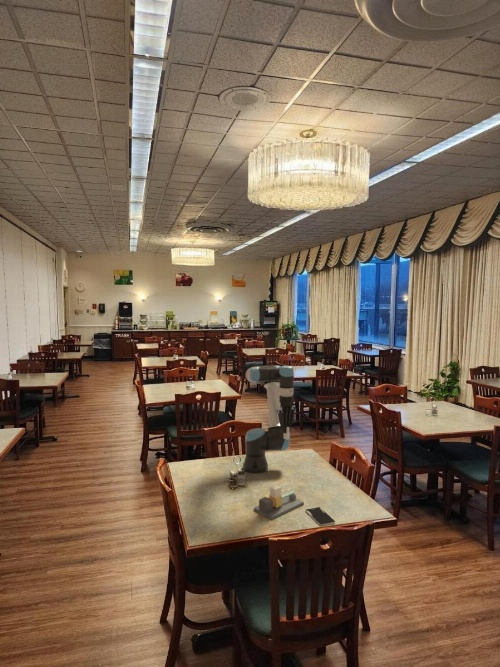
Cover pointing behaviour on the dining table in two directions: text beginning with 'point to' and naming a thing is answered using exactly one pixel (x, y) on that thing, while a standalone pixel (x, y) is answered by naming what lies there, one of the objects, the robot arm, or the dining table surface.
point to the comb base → (288, 504)
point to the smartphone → (320, 516)
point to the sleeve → (276, 495)
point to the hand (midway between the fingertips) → (286, 438)
